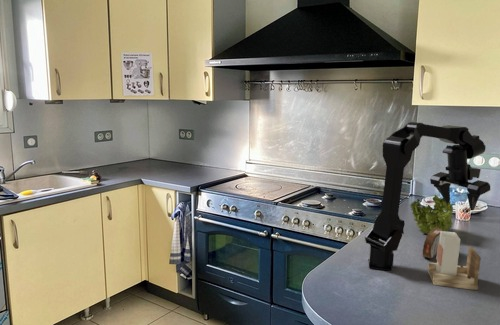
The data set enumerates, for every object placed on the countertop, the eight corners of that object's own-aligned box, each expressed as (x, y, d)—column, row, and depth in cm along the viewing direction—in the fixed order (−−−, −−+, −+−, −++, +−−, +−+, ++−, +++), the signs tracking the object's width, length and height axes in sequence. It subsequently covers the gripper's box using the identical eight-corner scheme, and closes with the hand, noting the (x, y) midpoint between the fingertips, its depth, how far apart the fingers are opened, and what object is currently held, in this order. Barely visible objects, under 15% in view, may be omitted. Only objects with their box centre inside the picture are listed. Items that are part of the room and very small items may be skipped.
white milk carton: (438, 278, 117) (443, 237, 115) (434, 269, 123) (438, 230, 121) (455, 280, 116) (460, 239, 114) (450, 271, 122) (455, 232, 120)
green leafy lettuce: (471, 230, 149) (443, 203, 145) (434, 252, 156) (407, 227, 152) (456, 202, 165) (431, 177, 161) (423, 223, 172) (398, 199, 168)
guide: (433, 284, 116) (437, 254, 114) (427, 270, 126) (430, 241, 124) (477, 290, 113) (481, 259, 112) (467, 274, 123) (471, 246, 122)
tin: (434, 247, 145) (436, 224, 143) (443, 249, 143) (446, 226, 141) (420, 260, 133) (423, 235, 132) (430, 262, 131) (433, 237, 130)
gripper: (500, 160, 131) (502, 205, 135) (449, 152, 147) (452, 192, 152) (477, 171, 127) (479, 217, 131) (427, 161, 143) (430, 202, 148)
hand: (460, 206), depth 140 cm, fingers open, 9 cm apart
